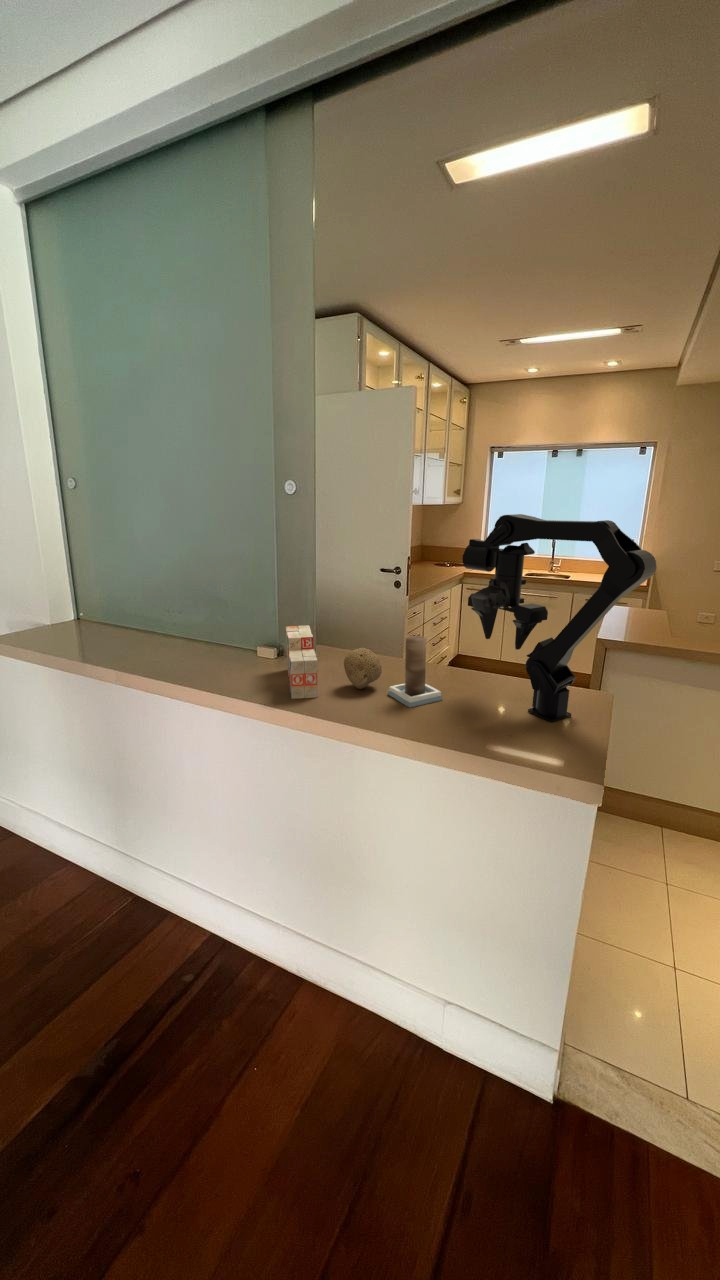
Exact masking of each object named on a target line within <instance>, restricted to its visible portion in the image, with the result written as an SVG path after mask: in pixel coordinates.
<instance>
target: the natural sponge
mask: <svg viewBox="0 0 720 1280" xmlns="http://www.w3.org/2000/svg"><path fill="white" fill-rule="evenodd" d="M343 667H344V672H345V674H346V677H347V679H348V680H349V682H350V683H351V684H352V685H353V686H354V687H355V688H356V689H358V690H361V689H365V688H366V687H368V685H369V684H372V683H374V682H376V681H377V680H379V679H380V677H381V675H382V672H383V668H382V664H381V662H380V659H379V657H378V656H377V654H375V652H373V651H372V650H370V649H368V648H365V647H360V648H354V649H352V650H351V651H349V652H348V653H347V654H346V656H344V660H343Z"/></svg>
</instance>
